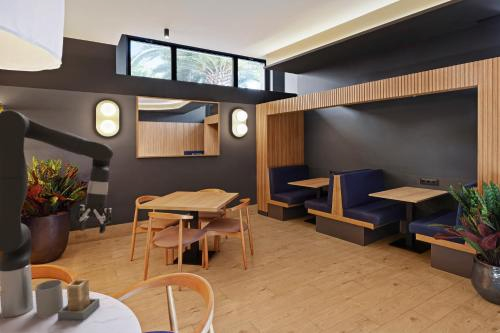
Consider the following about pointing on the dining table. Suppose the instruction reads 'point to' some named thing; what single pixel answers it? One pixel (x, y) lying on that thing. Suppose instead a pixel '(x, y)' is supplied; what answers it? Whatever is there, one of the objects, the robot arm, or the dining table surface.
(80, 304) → the oak crate
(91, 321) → the dining table surface
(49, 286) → the cup
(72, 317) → the tray
